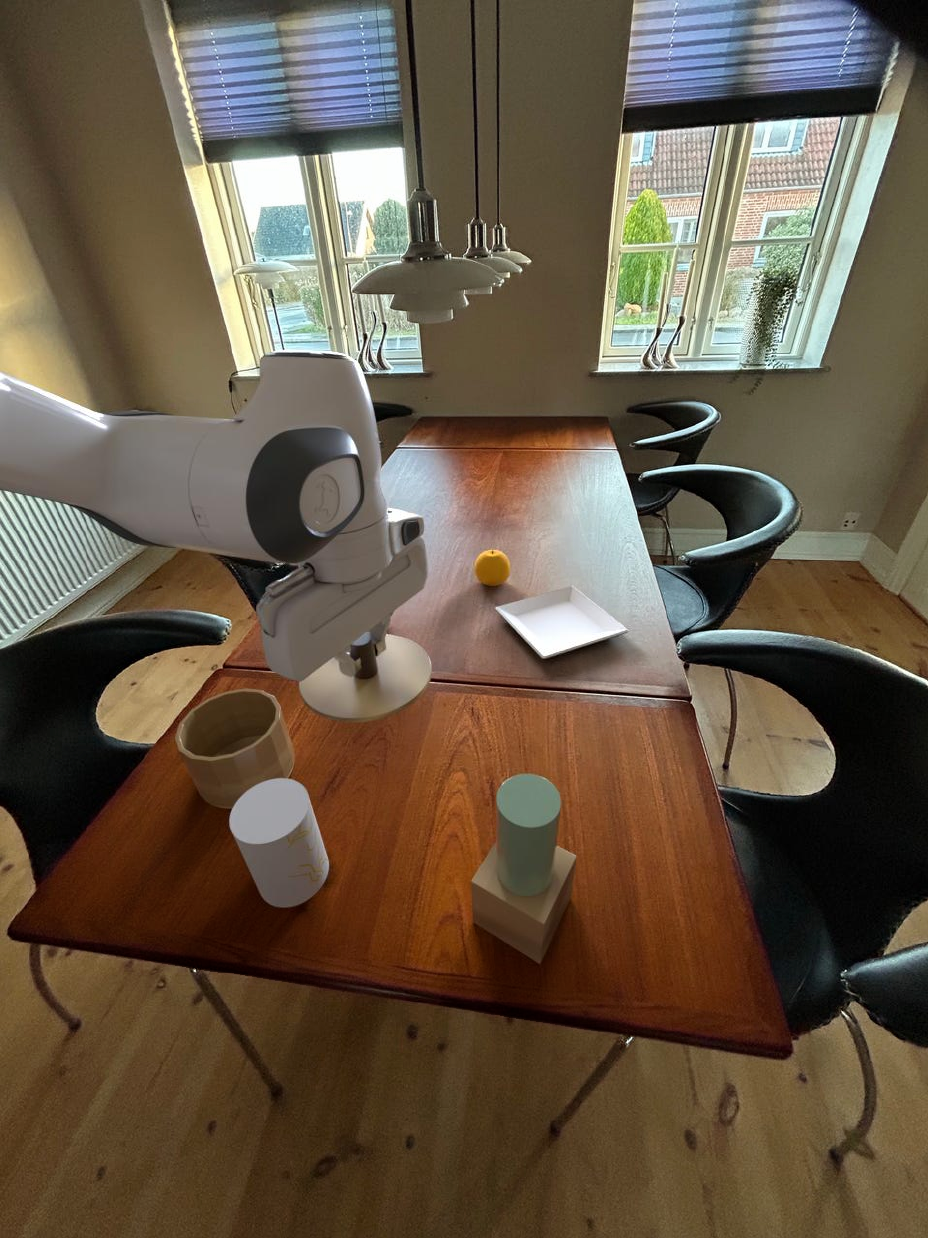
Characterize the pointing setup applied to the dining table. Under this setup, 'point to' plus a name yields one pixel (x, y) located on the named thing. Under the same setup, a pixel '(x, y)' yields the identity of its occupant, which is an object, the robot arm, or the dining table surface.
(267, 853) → the white cylinder
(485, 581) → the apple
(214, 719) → the basket
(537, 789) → the canister
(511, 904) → the stand
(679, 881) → the dining table surface
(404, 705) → the basket lid
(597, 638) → the plate
